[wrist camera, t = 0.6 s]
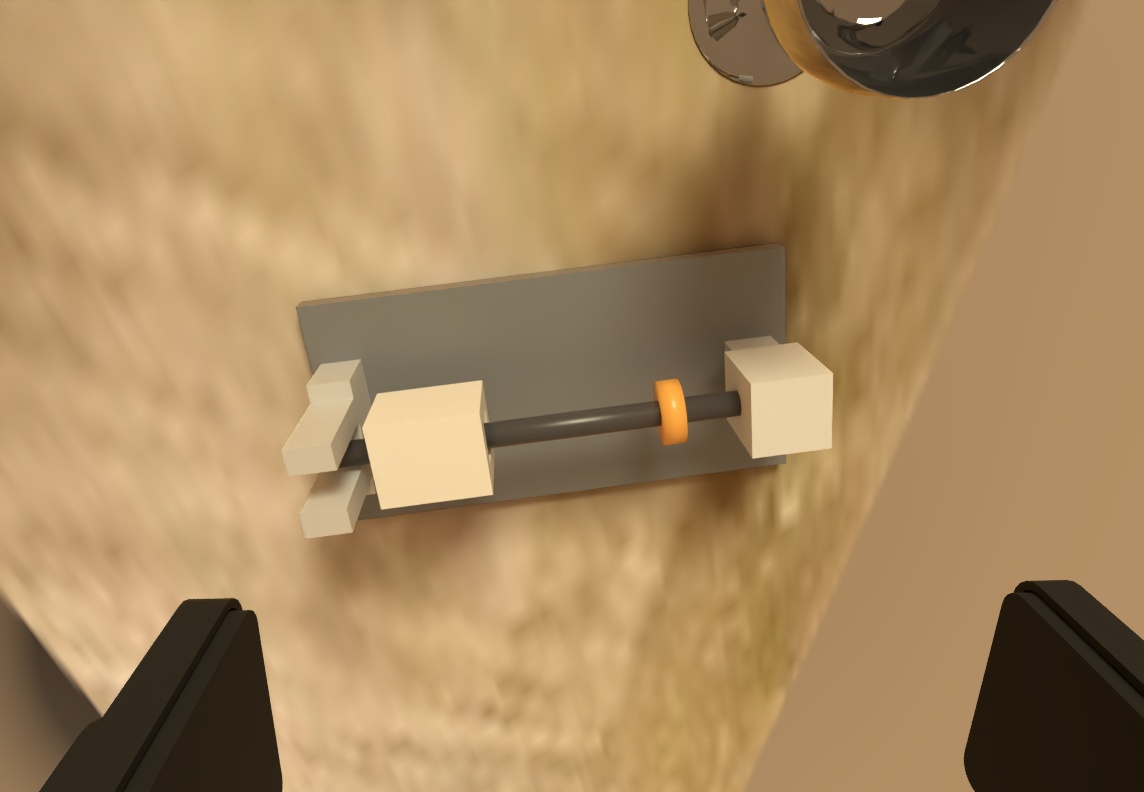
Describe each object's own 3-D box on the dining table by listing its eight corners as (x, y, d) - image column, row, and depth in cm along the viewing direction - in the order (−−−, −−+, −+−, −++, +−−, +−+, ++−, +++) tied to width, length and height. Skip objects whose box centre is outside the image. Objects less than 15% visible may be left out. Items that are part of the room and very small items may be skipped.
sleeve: (393, 468, 38) (381, 509, 34) (377, 393, 36) (362, 428, 33) (494, 455, 38) (493, 494, 34) (482, 379, 36) (479, 412, 33)
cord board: (353, 512, 42) (315, 615, 34) (301, 302, 38) (242, 362, 30) (780, 455, 43) (844, 542, 35) (778, 242, 39) (853, 284, 30)
